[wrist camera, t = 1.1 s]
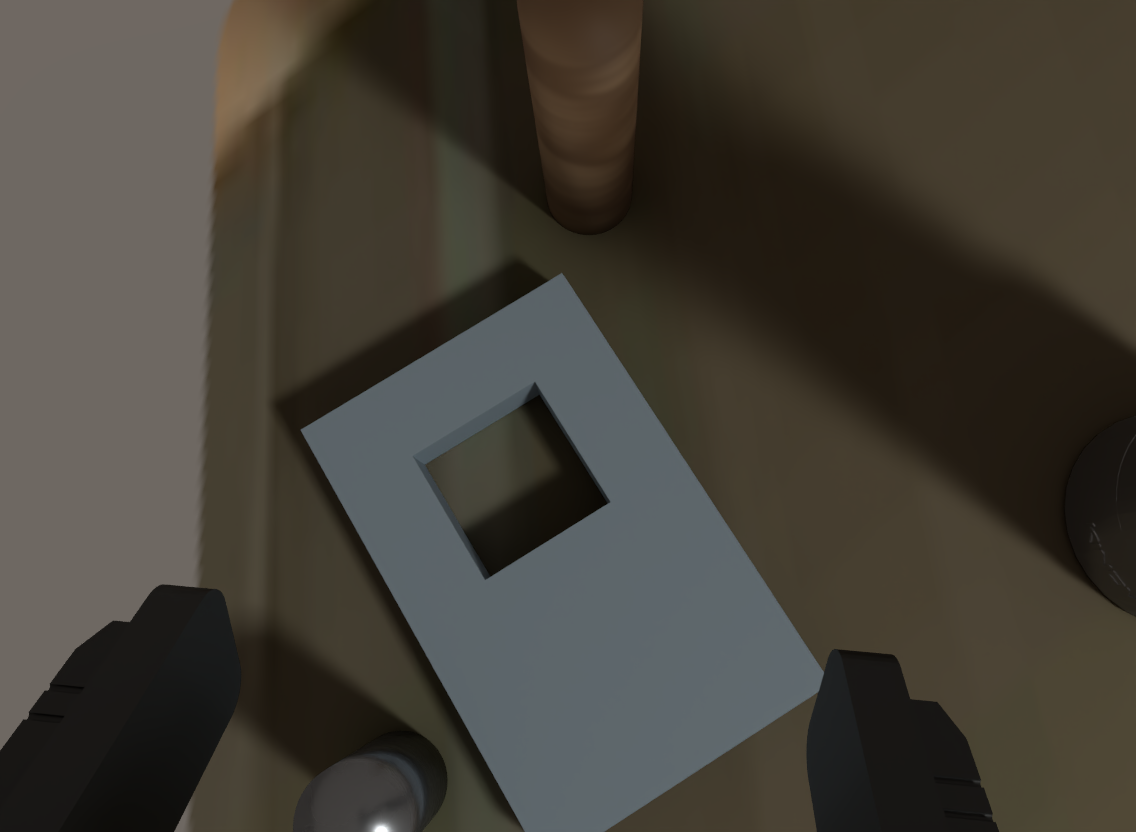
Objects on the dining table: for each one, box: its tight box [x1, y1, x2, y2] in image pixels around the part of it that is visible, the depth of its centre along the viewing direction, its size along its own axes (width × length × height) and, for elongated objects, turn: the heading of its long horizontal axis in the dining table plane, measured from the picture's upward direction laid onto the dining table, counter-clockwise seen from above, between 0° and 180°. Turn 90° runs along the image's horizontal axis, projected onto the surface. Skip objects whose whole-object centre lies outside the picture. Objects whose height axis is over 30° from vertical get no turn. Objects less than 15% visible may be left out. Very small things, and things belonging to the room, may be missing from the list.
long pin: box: [517, 0, 643, 235], centre depth 35 cm, size 4×4×14 cm
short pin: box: [293, 731, 447, 832], centre depth 33 cm, size 4×4×7 cm
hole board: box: [301, 273, 824, 832], centre depth 37 cm, size 13×20×2 cm, turn 32°
